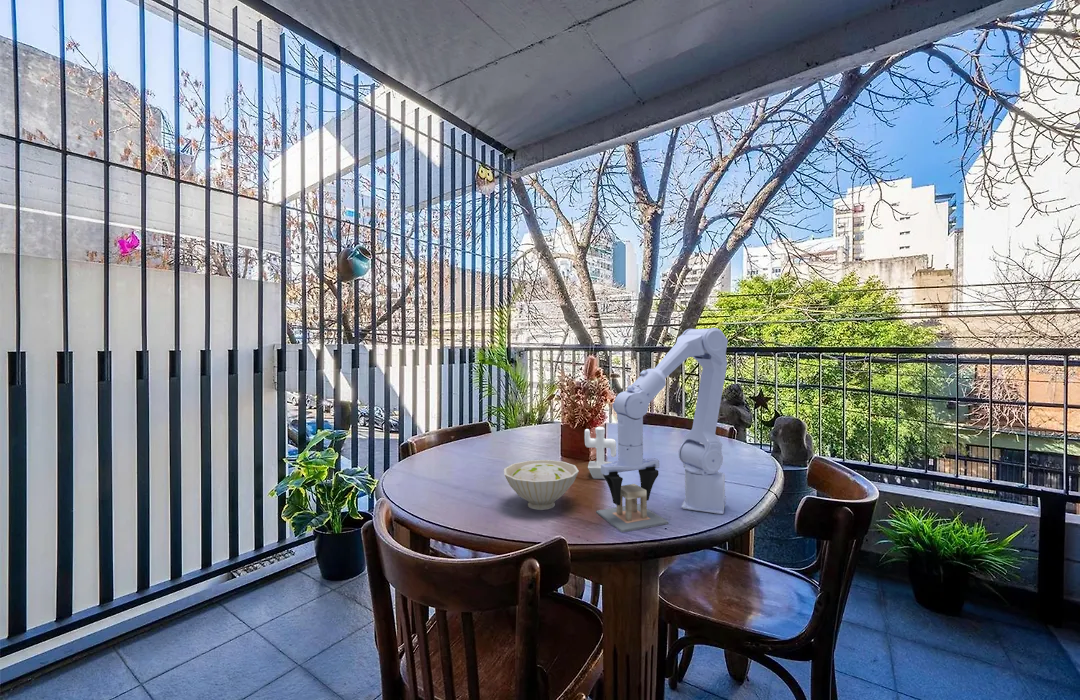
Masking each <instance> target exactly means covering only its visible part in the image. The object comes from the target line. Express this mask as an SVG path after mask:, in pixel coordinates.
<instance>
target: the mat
mask: <svg viewBox="0 0 1080 700" xmlns="http://www.w3.org/2000/svg"><path fill="white" fill-rule="evenodd" d="M622 510H623V515H618V514H617V506H616V507H612V508H611V507H610V508H606V509H605V508H604V509H600V510H596V514H597V515H599V516H600V517H601V518H602V519H603V520H605V521H607V523H609V524H610V525H611V526H613V528H615V529H616V530H618V531H619V532H621V533H625V532H626V533H627V532H632V531H637V530H643V529H649V528H652V527H658V526H664V525H665V526H666V525H669V521H668V520H667V519H665V518H663V517H662V516H661V515H659V514H657V513H655V512H653V511H652V510H650V509H649V508H647V518H645V519H643V518H641V503H637V512H635V513H633V512H632V521H626V509H625V505H622Z"/></svg>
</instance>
